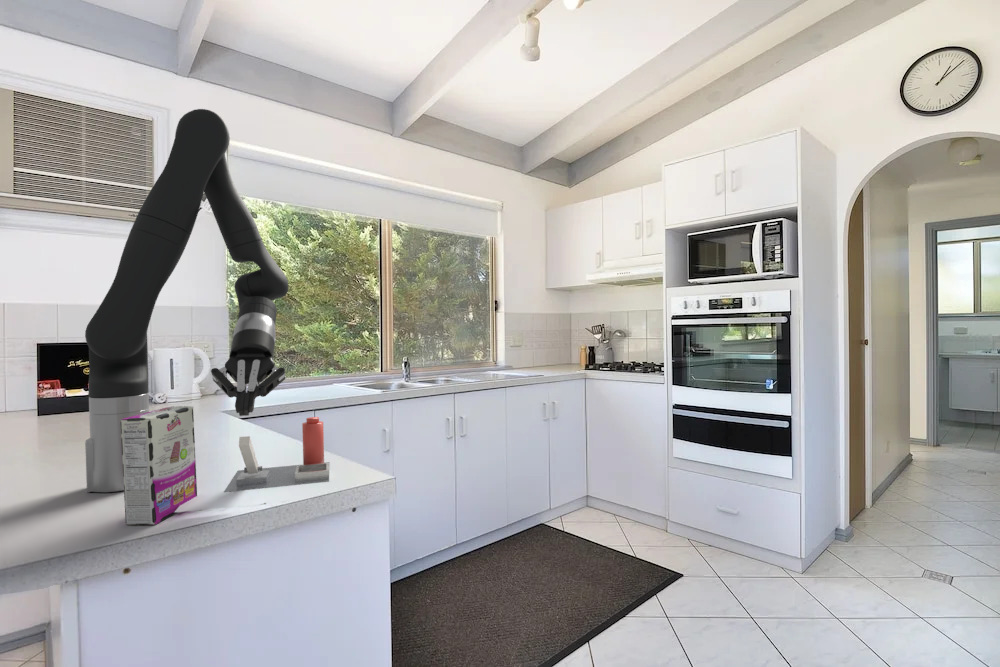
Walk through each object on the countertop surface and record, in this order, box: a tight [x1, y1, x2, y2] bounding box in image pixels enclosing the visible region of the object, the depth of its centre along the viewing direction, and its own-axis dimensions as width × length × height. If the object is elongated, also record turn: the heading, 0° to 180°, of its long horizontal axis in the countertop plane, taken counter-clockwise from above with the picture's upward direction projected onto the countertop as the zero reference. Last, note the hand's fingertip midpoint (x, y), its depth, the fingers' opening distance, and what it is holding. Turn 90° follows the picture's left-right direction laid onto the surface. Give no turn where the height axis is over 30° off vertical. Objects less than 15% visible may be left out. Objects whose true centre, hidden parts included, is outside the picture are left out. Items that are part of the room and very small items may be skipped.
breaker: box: [238, 435, 263, 474], centre depth 95 cm, size 3×2×12 cm
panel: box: [223, 461, 330, 493], centre depth 102 cm, size 18×14×2 cm
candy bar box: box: [120, 405, 198, 526], centre depth 85 cm, size 11×5×16 cm, turn 179°
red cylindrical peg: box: [301, 416, 325, 465], centre depth 108 cm, size 4×4×10 cm
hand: (243, 412), depth 92 cm, fingers closed
